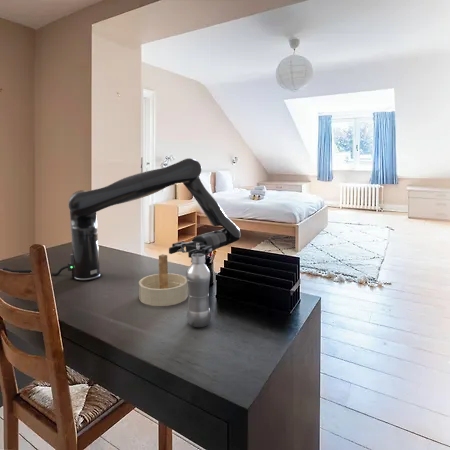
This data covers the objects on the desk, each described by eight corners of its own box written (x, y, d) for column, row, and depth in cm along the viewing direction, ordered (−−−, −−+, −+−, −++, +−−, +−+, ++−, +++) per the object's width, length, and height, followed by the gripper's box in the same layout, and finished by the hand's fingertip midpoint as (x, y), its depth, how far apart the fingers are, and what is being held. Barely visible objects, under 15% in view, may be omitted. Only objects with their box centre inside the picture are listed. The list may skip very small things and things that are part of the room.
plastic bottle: (207, 331, 94) (207, 259, 90) (183, 328, 95) (182, 257, 92) (213, 320, 100) (213, 252, 97) (190, 318, 102) (189, 251, 98)
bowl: (131, 305, 110) (130, 287, 109) (150, 288, 125) (150, 271, 124) (179, 310, 107) (179, 291, 106) (193, 291, 122) (192, 274, 121)
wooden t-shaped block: (155, 296, 116) (154, 255, 114) (160, 293, 118) (159, 253, 116) (167, 299, 114) (166, 257, 111) (172, 296, 116) (171, 255, 113)
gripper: (190, 231, 137) (163, 239, 124) (222, 236, 130) (196, 245, 116) (191, 250, 139) (163, 260, 125) (221, 255, 131) (196, 266, 118)
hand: (179, 252), depth 121 cm, fingers open, 8 cm apart
